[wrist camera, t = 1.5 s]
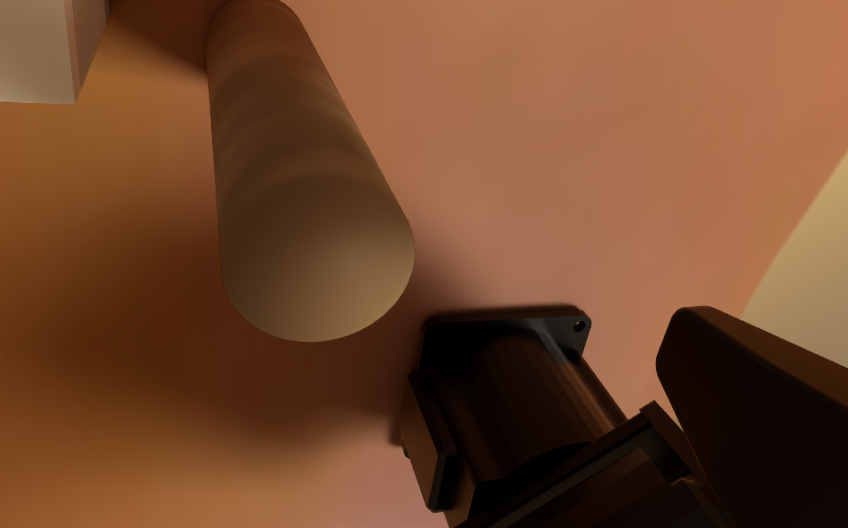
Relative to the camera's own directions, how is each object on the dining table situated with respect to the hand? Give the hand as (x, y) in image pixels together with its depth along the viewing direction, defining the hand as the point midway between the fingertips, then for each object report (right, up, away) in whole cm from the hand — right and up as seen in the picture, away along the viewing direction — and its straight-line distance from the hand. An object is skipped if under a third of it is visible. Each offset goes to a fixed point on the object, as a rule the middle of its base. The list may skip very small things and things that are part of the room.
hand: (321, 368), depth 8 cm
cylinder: (-3, +7, +11) cm, 13 cm away
